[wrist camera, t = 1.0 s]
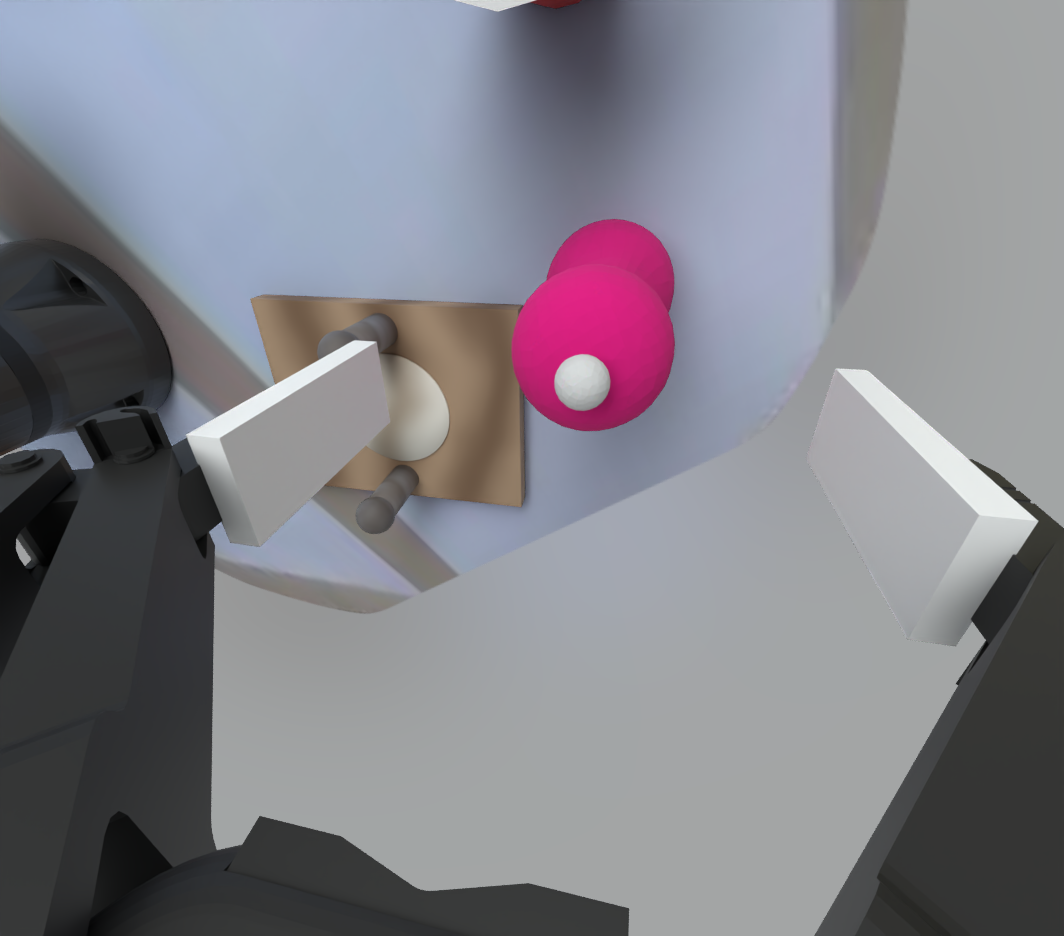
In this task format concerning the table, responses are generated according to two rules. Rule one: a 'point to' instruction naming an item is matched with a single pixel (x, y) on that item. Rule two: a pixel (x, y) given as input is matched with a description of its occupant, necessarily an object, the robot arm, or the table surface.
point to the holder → (417, 395)
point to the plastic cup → (517, 3)
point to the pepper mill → (598, 328)
